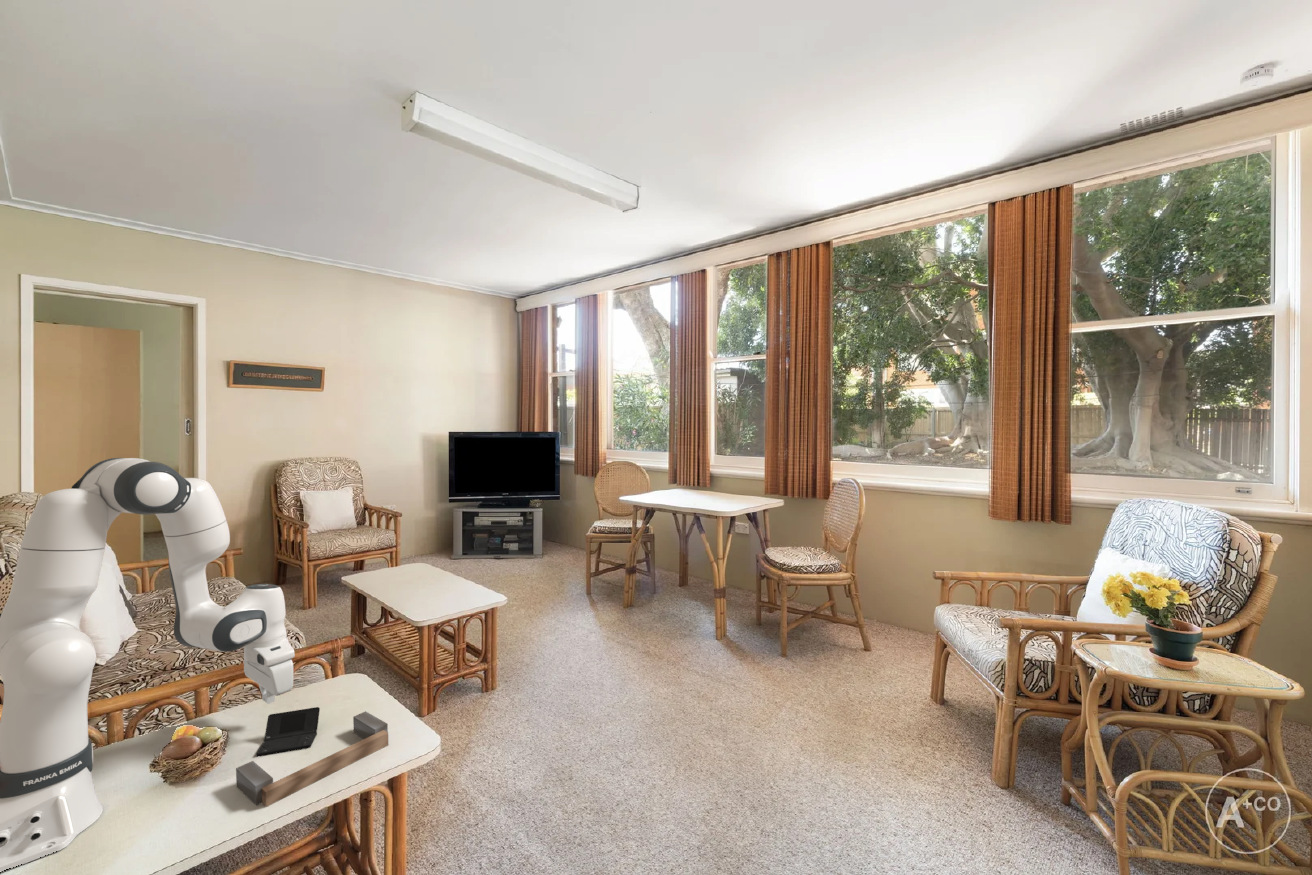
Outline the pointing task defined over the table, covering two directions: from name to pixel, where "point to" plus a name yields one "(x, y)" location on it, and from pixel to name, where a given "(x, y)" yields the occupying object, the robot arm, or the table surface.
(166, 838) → the table surface
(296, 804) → the table surface
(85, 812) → the robot arm
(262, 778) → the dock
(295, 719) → the handheld gaming console
